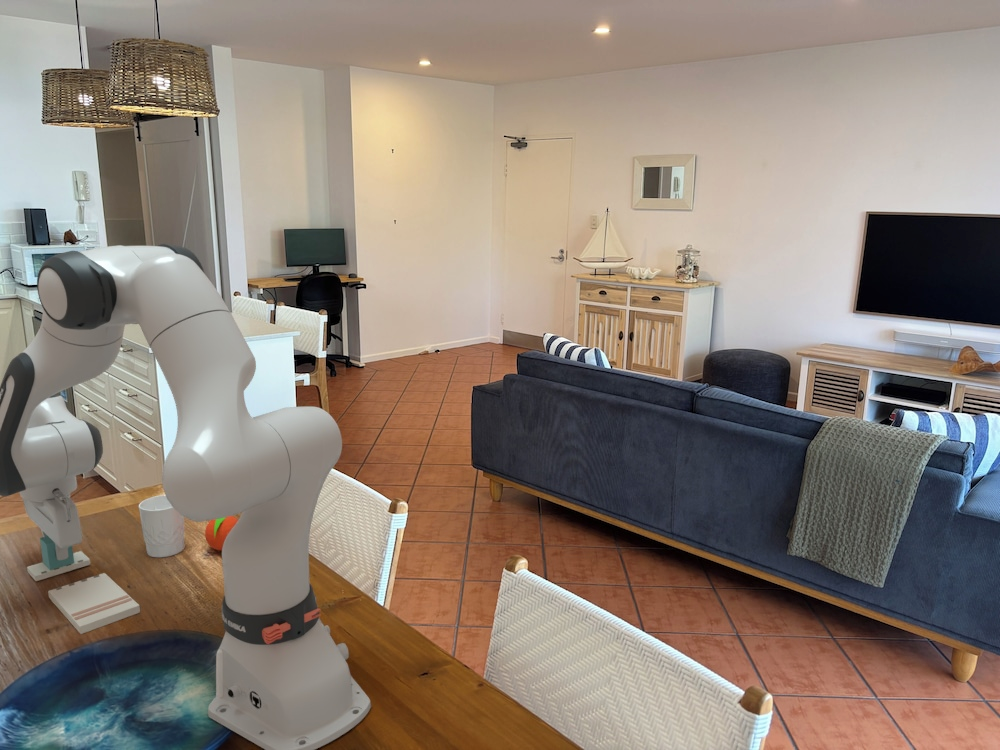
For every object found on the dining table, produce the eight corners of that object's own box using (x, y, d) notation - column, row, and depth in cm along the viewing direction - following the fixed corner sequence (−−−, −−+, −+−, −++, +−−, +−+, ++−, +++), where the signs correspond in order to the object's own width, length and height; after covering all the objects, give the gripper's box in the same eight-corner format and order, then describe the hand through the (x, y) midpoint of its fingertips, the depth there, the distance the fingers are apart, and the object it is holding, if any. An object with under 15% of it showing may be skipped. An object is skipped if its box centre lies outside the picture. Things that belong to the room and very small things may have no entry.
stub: (90, 564, 137) (87, 534, 136) (35, 581, 131) (31, 550, 129) (81, 555, 140) (77, 526, 139) (27, 571, 134) (23, 541, 133)
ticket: (140, 612, 122) (139, 604, 121) (80, 634, 115) (79, 626, 115) (105, 579, 132) (104, 572, 132) (49, 597, 126) (48, 590, 125)
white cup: (195, 542, 147) (191, 495, 145) (174, 560, 140) (169, 511, 137) (157, 540, 148) (153, 493, 146) (135, 558, 140) (129, 509, 138)
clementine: (234, 559, 140) (232, 525, 139) (198, 559, 140) (195, 524, 139) (248, 541, 148) (246, 508, 146) (214, 540, 148) (211, 507, 146)
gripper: (87, 493, 127) (95, 566, 130) (50, 464, 141) (58, 531, 144) (46, 503, 123) (56, 579, 126) (12, 472, 136) (21, 541, 139)
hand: (57, 553), depth 135 cm, fingers closed on stub, 4 cm apart
